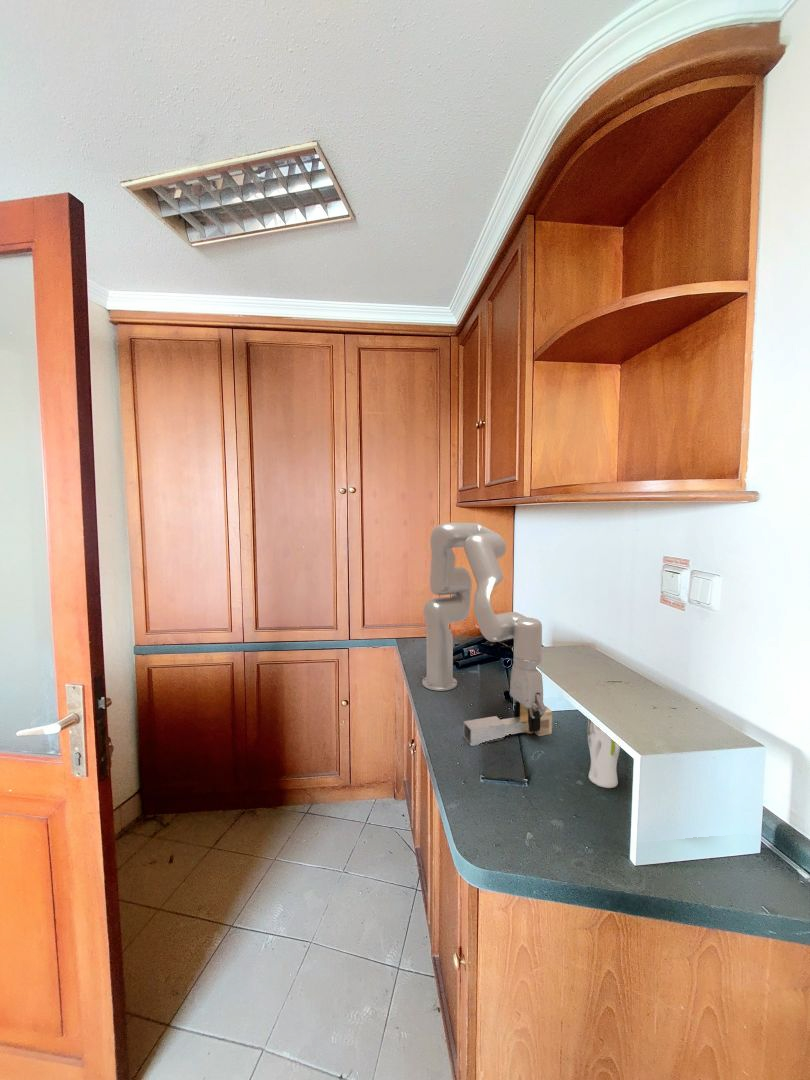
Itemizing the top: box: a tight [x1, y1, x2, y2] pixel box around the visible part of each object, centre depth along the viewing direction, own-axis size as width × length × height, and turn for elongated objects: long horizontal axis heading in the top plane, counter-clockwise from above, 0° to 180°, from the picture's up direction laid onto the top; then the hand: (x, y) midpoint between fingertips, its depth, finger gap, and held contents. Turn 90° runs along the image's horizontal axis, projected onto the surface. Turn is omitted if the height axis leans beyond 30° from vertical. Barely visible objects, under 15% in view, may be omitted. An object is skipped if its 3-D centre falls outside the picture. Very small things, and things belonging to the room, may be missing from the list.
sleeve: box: [463, 715, 506, 747], centre depth 113 cm, size 5×10×5 cm, turn 107°
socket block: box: [533, 703, 553, 737], centre depth 118 cm, size 6×4×6 cm
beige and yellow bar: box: [500, 703, 534, 736], centre depth 116 cm, size 4×16×7 cm, turn 107°
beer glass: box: [587, 718, 621, 789], centre depth 95 cm, size 7×7×15 cm
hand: (526, 723), depth 117 cm, fingers open, 7 cm apart
